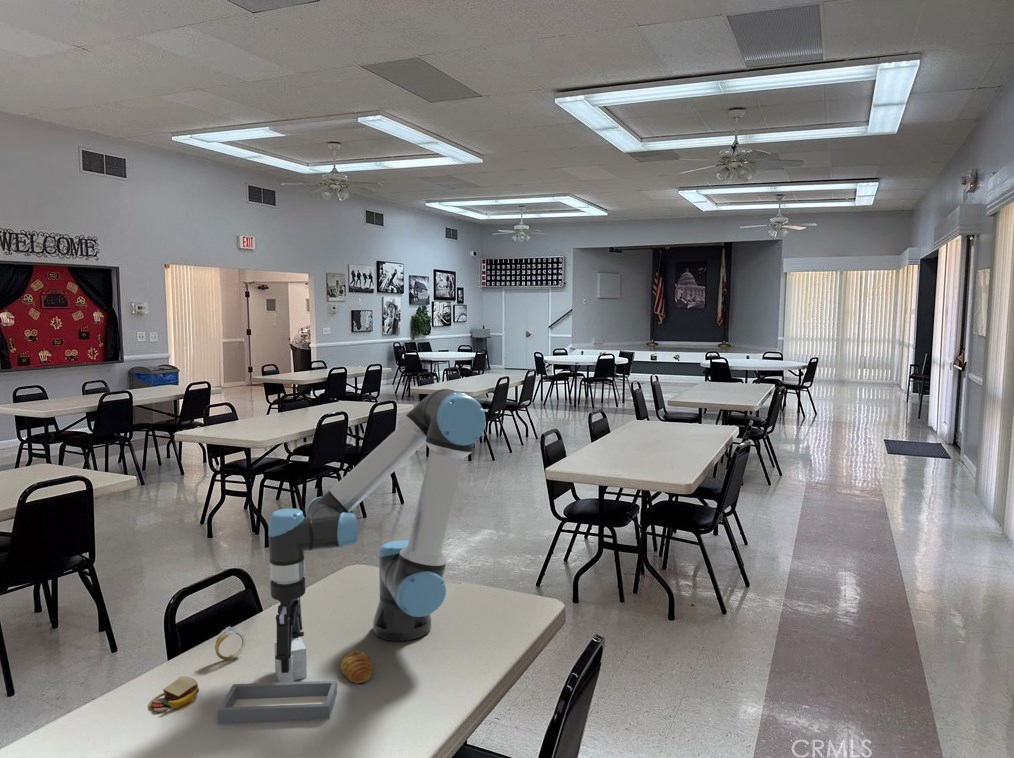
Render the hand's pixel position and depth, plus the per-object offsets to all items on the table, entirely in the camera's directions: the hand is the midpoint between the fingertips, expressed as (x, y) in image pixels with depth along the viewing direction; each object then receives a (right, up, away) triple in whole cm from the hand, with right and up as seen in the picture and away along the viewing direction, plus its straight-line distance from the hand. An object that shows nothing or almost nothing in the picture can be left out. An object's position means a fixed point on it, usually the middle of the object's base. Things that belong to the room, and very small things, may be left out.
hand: (291, 674), depth 160 cm
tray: (+2, -2, -14) cm, 14 cm away
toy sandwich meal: (-21, -2, -11) cm, 24 cm away
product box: (0, -1, 0) cm, 1 cm away
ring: (-17, 0, +8) cm, 18 cm away
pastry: (+14, -2, -2) cm, 14 cm away
